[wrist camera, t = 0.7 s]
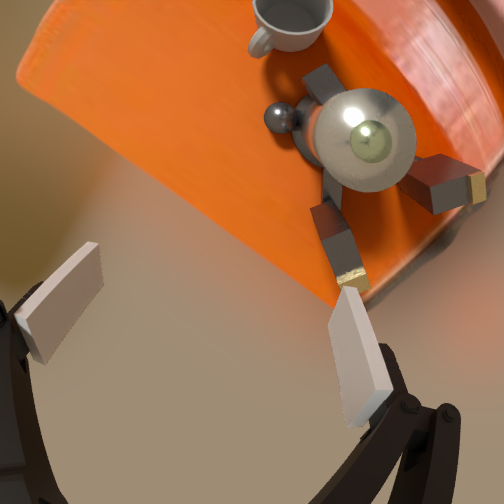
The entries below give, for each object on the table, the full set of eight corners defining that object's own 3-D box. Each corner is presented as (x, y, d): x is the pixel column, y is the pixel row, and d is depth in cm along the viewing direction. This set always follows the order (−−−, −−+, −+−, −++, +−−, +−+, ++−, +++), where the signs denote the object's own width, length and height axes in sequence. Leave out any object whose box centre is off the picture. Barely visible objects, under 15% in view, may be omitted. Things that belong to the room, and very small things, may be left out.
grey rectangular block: (394, 185, 34) (436, 218, 24) (389, 162, 33) (432, 187, 23) (437, 172, 32) (487, 200, 22) (433, 150, 31) (484, 171, 21)
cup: (331, 26, 25) (348, 3, 18) (278, 80, 29) (280, 70, 22) (283, -8, 24) (285, -39, 16) (229, 46, 28) (215, 27, 20)
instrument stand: (345, 56, 27) (391, 27, 14) (409, 161, 32) (475, 196, 19) (253, 114, 32) (240, 116, 18) (326, 214, 37) (353, 276, 24)
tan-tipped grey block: (307, 203, 36) (320, 244, 26) (330, 193, 35) (352, 230, 25) (326, 248, 39) (343, 300, 29) (348, 239, 38) (372, 288, 28)
